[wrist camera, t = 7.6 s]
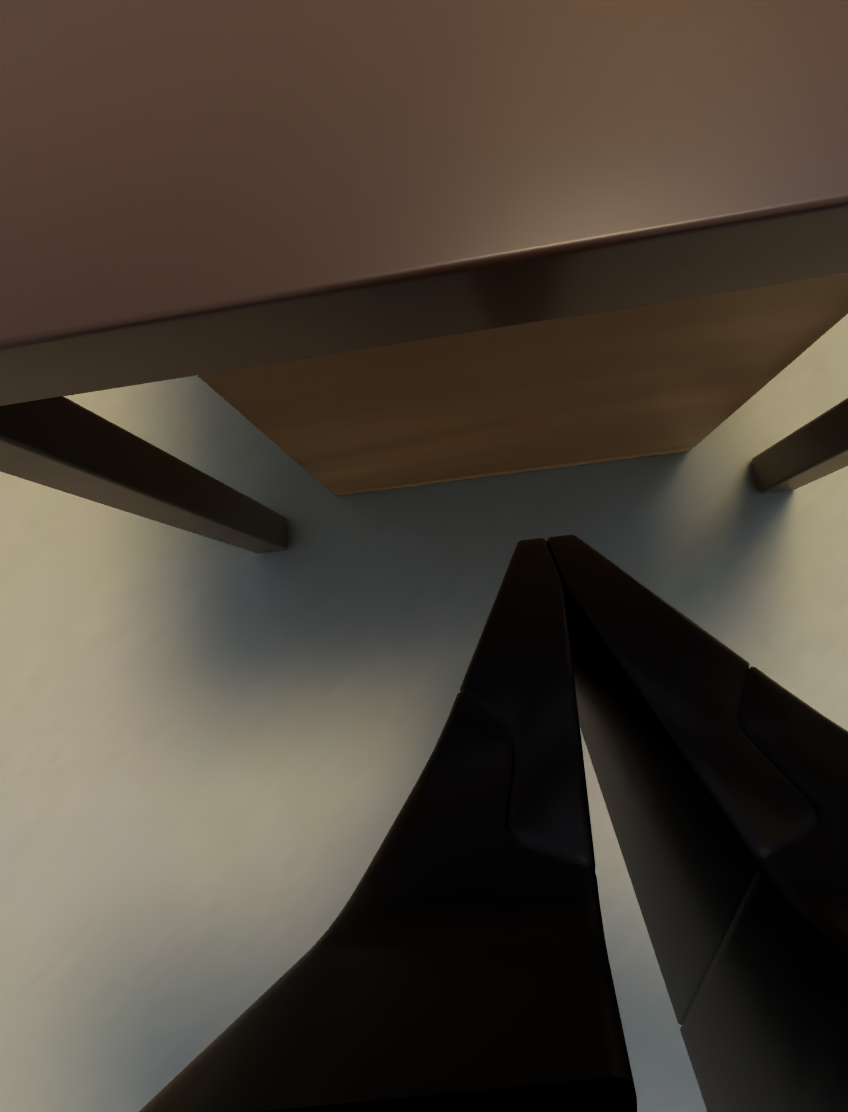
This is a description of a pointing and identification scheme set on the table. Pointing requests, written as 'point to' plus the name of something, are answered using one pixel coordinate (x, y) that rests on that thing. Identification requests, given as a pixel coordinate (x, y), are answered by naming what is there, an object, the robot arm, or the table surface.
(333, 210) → the desk shelf
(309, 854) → the table surface
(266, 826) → the table surface
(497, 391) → the wooden box
